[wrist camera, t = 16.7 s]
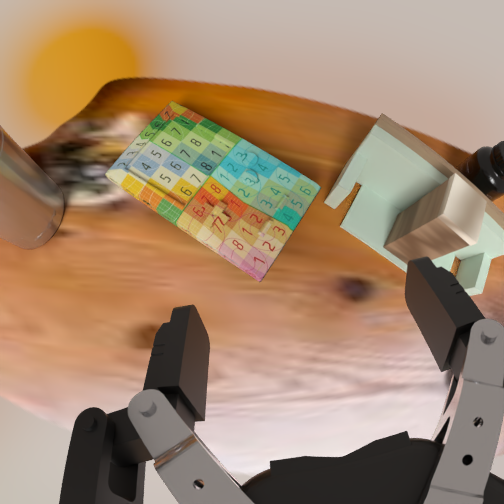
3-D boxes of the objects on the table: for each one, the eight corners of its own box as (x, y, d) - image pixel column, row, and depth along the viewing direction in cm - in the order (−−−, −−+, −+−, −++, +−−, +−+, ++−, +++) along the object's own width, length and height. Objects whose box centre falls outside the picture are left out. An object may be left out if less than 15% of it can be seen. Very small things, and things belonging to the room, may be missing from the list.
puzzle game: (263, 278, 29) (102, 170, 30) (257, 285, 34) (114, 188, 35) (323, 183, 32) (171, 95, 33) (312, 200, 37) (175, 118, 38)
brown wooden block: (382, 247, 36) (443, 213, 24) (397, 214, 37) (455, 172, 25) (411, 268, 35) (477, 243, 24) (424, 234, 37) (486, 201, 25)
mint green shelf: (317, 212, 36) (350, 172, 26) (348, 159, 38) (382, 113, 28) (453, 308, 35) (508, 299, 25) (471, 252, 37) (521, 233, 27)
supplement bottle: (478, 190, 40) (528, 157, 28) (470, 224, 38) (527, 195, 27) (447, 163, 40) (496, 123, 29) (438, 196, 39) (492, 158, 27)
